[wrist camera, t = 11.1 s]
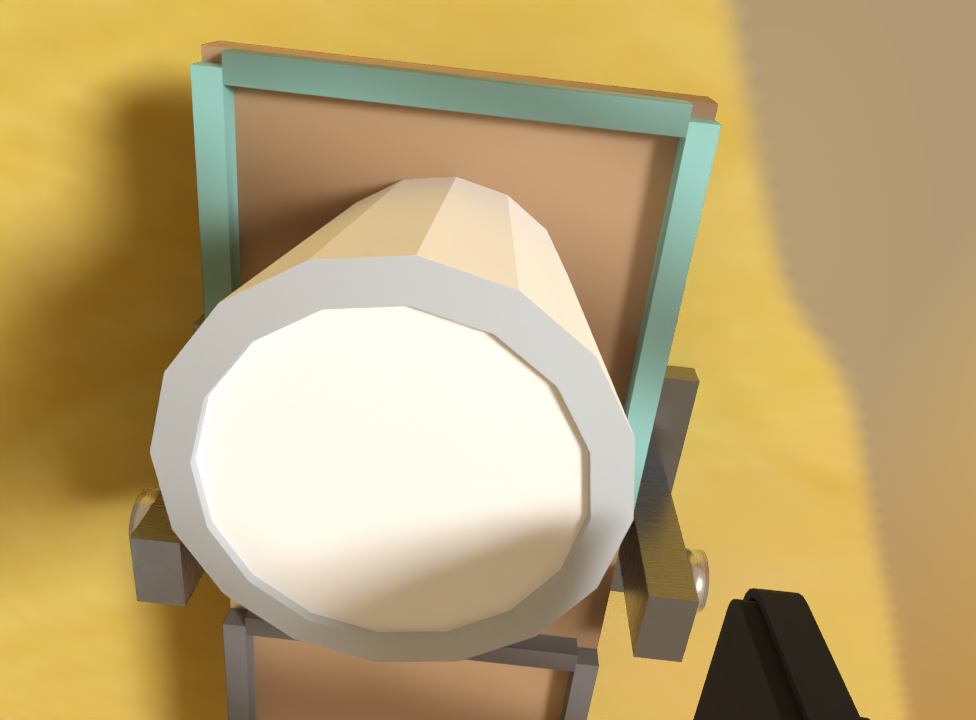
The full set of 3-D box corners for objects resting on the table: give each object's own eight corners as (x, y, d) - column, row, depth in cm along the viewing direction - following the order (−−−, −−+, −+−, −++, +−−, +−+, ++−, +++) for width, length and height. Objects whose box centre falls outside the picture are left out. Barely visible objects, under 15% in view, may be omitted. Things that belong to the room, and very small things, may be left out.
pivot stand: (648, 578, 27) (679, 745, 21) (212, 529, 27) (125, 683, 21) (701, 369, 23) (757, 502, 17) (197, 312, 23) (88, 427, 17)
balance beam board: (547, 837, 27) (548, 887, 25) (251, 804, 27) (236, 852, 25) (707, 96, 16) (725, 108, 15) (219, 40, 16) (189, 46, 15)
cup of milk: (497, 484, 19) (481, 729, 13) (237, 351, 18) (81, 551, 12) (663, 253, 17) (744, 422, 10) (371, 77, 15) (261, 148, 9)
